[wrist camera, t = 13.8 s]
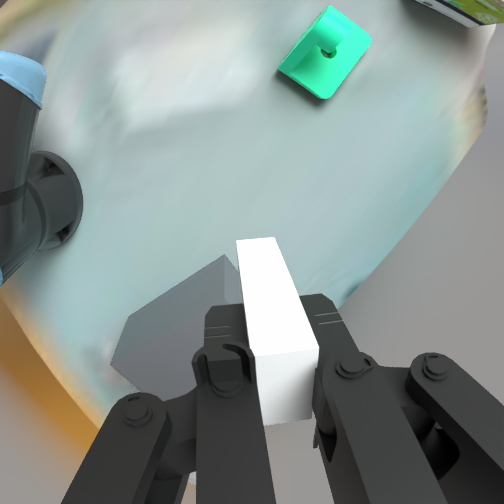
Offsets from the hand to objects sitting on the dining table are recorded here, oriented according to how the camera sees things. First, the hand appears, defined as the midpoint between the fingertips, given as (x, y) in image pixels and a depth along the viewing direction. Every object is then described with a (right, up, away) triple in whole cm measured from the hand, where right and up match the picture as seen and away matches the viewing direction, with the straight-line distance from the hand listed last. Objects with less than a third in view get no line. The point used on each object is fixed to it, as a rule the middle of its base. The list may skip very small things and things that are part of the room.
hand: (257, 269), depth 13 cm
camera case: (-9, -9, +39) cm, 41 cm away
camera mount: (+9, +28, +24) cm, 38 cm away
